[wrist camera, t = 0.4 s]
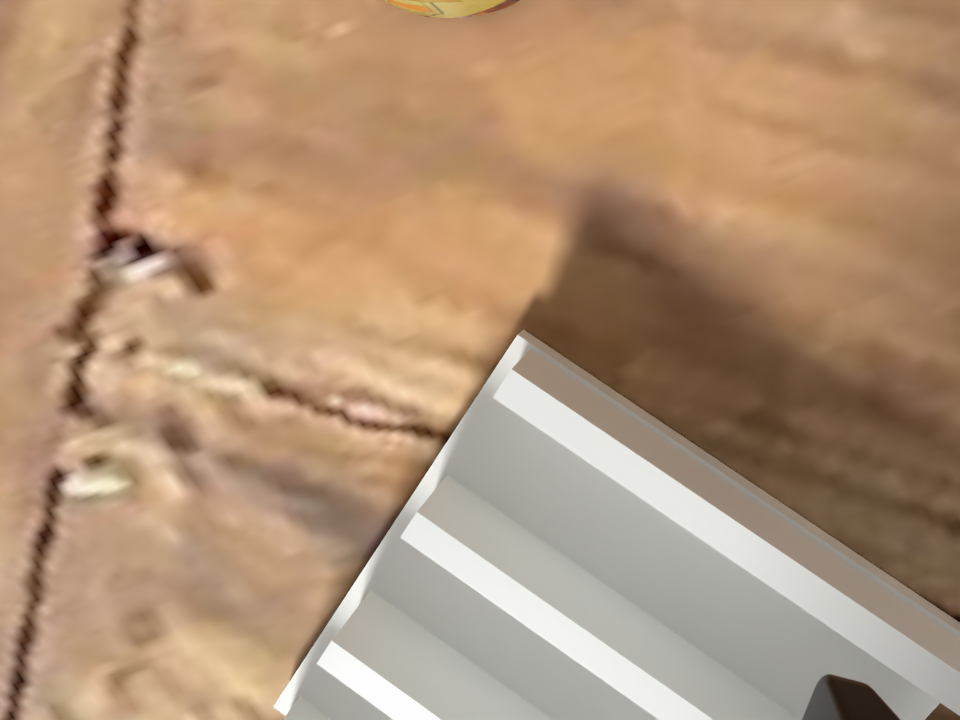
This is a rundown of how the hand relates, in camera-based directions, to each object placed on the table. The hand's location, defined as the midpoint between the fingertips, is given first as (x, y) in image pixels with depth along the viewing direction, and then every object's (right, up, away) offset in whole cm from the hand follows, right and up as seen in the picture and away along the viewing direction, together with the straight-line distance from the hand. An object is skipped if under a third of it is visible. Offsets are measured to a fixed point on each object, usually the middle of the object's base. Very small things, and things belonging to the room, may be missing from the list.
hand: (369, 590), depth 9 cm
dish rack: (+5, -6, +16) cm, 18 cm away
